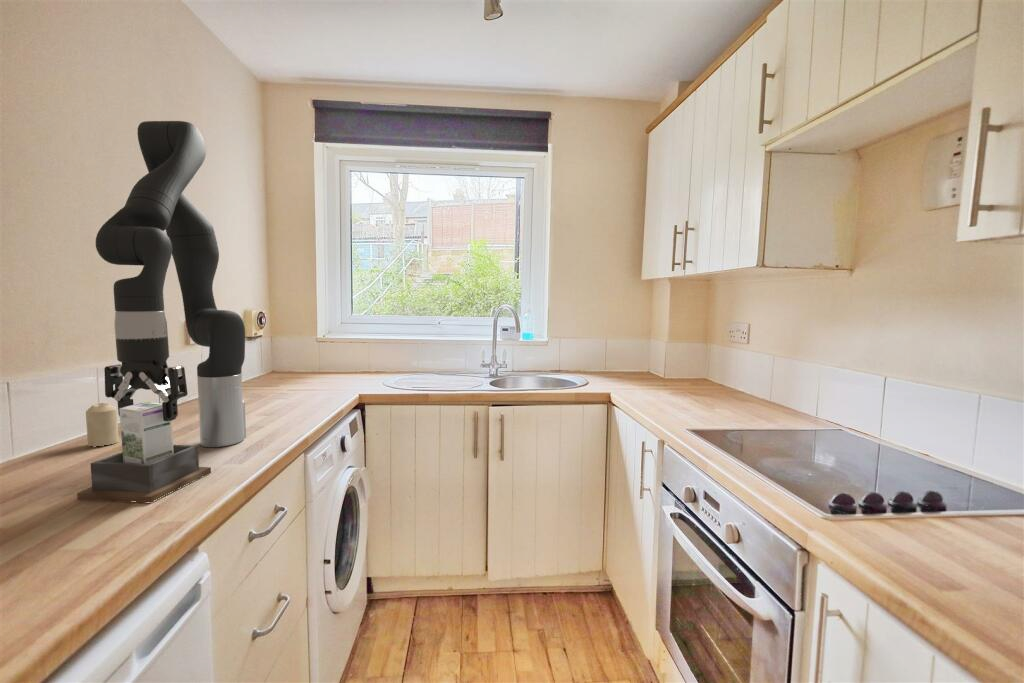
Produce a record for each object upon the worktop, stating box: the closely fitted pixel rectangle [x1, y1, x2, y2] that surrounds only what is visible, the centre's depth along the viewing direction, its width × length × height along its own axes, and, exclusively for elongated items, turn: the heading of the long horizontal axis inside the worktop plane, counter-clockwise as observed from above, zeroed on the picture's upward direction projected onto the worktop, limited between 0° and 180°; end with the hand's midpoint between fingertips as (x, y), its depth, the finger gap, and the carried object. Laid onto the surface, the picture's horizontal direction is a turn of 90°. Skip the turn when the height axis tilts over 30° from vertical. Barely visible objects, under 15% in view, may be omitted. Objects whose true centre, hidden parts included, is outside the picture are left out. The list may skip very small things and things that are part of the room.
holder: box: [76, 444, 212, 503], centre depth 85 cm, size 14×14×6 cm
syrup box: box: [118, 401, 174, 464], centre depth 84 cm, size 6×6×14 cm
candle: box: [85, 402, 119, 447], centre depth 108 cm, size 6×6×10 cm
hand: (148, 419), depth 84 cm, fingers open, 8 cm apart
